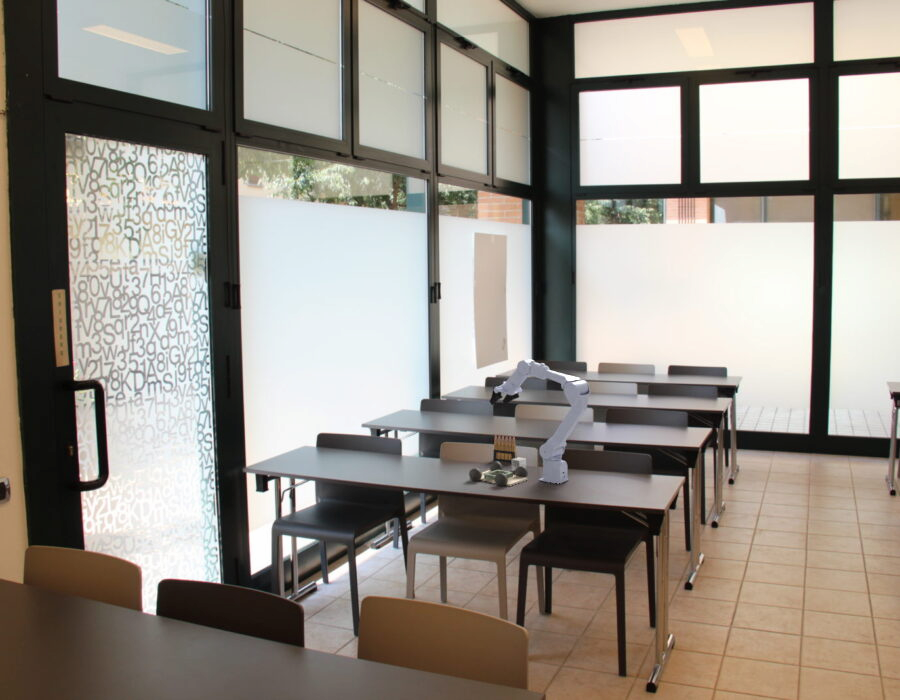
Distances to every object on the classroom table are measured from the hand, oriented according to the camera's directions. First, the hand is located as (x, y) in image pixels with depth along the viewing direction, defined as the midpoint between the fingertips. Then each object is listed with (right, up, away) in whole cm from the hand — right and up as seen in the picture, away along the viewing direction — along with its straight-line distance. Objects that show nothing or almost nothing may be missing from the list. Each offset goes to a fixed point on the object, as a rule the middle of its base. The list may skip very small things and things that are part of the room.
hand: (497, 403), depth 360 cm
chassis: (0, -30, -13) cm, 33 cm away
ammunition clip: (+4, -27, +17) cm, 32 cm away
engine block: (+9, -29, +1) cm, 30 cm away
